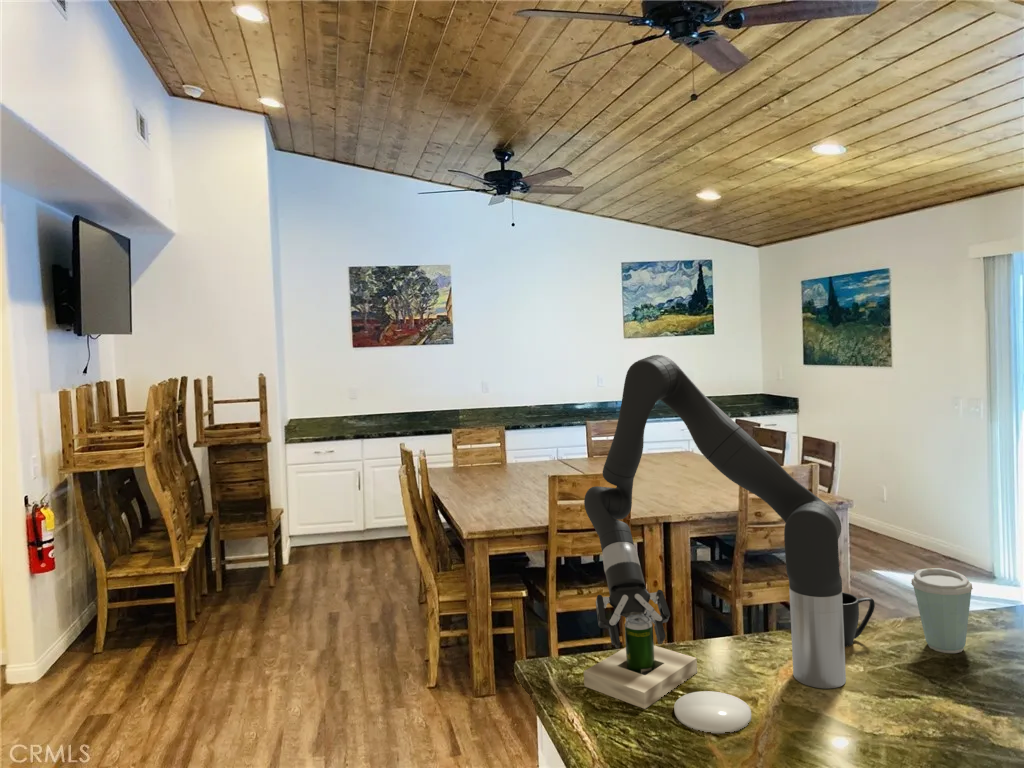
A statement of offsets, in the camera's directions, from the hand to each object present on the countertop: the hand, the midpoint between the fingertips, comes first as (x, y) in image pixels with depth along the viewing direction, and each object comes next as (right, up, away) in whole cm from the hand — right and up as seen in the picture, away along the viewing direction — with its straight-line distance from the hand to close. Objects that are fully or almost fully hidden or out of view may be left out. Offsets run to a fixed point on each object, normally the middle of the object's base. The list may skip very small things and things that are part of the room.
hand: (639, 644), depth 138 cm
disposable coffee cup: (+63, -3, +6) cm, 64 cm away
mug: (+46, -4, +12) cm, 48 cm away
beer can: (0, -7, 0) cm, 7 cm away
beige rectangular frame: (0, -7, 0) cm, 7 cm away
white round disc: (+10, -7, -14) cm, 19 cm away
